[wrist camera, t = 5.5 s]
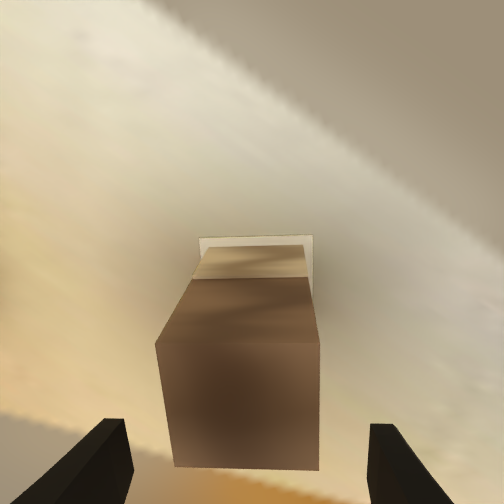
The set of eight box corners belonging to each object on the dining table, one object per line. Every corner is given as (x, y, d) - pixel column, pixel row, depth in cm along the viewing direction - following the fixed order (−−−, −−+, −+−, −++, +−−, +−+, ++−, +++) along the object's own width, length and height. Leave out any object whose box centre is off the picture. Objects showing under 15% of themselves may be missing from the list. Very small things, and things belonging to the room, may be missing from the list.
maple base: (302, 244, 19) (308, 273, 16) (303, 328, 21) (308, 373, 17) (208, 247, 20) (191, 276, 16) (216, 329, 21) (202, 372, 18)
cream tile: (312, 234, 19) (312, 235, 19) (312, 335, 21) (312, 336, 21) (199, 237, 20) (198, 238, 20) (209, 335, 22) (208, 336, 22)
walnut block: (308, 276, 16) (319, 342, 11) (308, 375, 17) (319, 470, 12) (192, 279, 16) (154, 343, 11) (203, 375, 18) (174, 466, 13)
